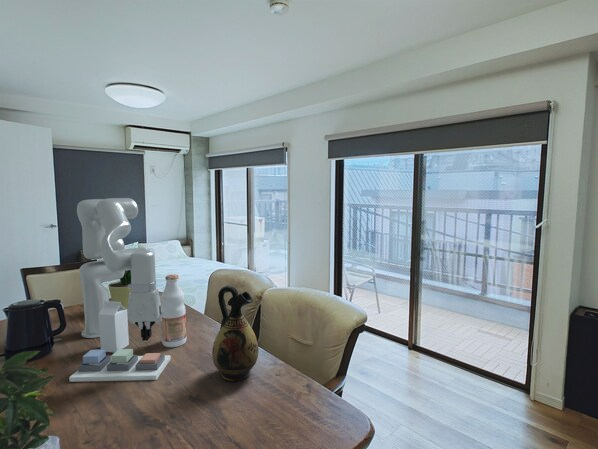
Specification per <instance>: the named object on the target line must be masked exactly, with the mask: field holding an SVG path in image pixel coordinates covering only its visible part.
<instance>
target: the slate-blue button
mask: <svg viewBox="0 0 598 449" xmlns="http://www.w3.org/2000/svg"><path fill="white" fill-rule="evenodd" d="M106 353H107V352H106V351H105V350H101V349H90V350H89V351H88V352H86V353H85V354H84V355H82V362H83V364H90V363H99V362H100V361H101V360H102V359H103V358H105V357H106V356H107V355H106Z"/></svg>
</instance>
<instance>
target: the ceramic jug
mask: <svg viewBox="0 0 598 449" xmlns="http://www.w3.org/2000/svg"><path fill="white" fill-rule="evenodd" d="M226 293H231V295H232V297H231V298H229V300H228V301H227V305H226V301H225V294H226ZM217 297H218V304H219V308H220V312H221V314H222V320H221V322H220V326H219V330H218V332H217V335H216V336H215V339H214V342H213V345H212V352H211V353H212V354H211V355H212V362H213V364H214V366H215V367H216V369H218V371H219V372H220V376H221V377H222V379H224V380H225V381H228V382H232V383H238V382H240V381H243V380H245V379H248V378H249V375H250V371H251V370H252V369H253V368H254V366H255V365H256V364H257V361H258V359H259V350H260V349H259V344H258V339H257V336H256V334H255V332H254V330H253V328H252V326H251V325H250V323H249V322H248V320H247V319H246V318H245V316H244V314H243V312H242V307H244V306H247V305H249V304H252V303H253V302H254V298H253V297H252V295H251V294H250V293H249V292H247V291H244V292H240V293H239V292H238V290H237V288H236V287H234V286H231V285H225V286H223V287H221V289H220V290H219V291H218V295H217ZM227 306H229V307H230V311H229V313H228V309H227Z"/></svg>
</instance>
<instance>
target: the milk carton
mask: <svg viewBox="0 0 598 449" xmlns="http://www.w3.org/2000/svg"><path fill="white" fill-rule="evenodd" d="M104 302H105V304H104V306H103V307H102V309H101V311H100V312H99V330H100V337H99V344H100V350H105V351H106V353H112V354H114V353H115V352H116V351H117V350H118V349H126V348H127V347H129V345H130V341H129V340H130V339H129V336H130V335H129V320H128V316H127V309H126V308H125V307H123V306H122V305H121V302H112V300H111V301H110V300H109V301H104Z"/></svg>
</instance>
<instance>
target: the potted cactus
mask: <svg viewBox="0 0 598 449" xmlns="http://www.w3.org/2000/svg"><path fill="white" fill-rule="evenodd" d="M131 283H132V282H131V270H127V271H125V273H124V276H123V277H122V278H120V279H119V280H118V281H114V282H110V283H109V284H108V285H107V286H108V290H109V291H108V292H109V294H110V295H109V296H110V298H111V301H112V302H121V305H122V306H123V307H125V308H126V309H127V311H128V298H129V293H130V292H131V288H128V284H131Z"/></svg>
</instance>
